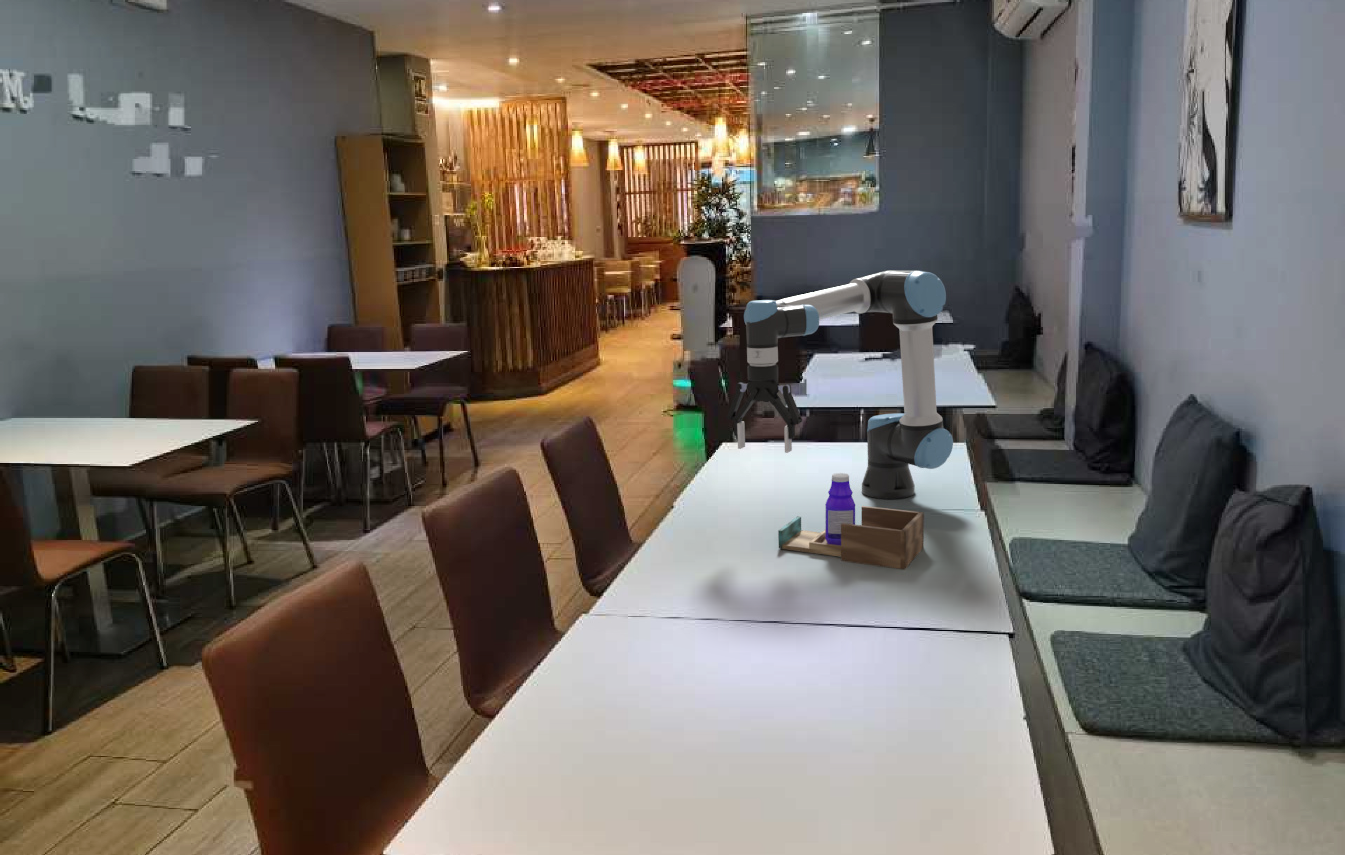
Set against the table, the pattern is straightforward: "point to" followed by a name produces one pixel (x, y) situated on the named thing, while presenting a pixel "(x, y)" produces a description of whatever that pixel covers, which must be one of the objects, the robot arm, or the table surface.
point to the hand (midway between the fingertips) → (764, 449)
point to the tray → (805, 540)
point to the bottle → (838, 508)
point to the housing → (883, 537)
